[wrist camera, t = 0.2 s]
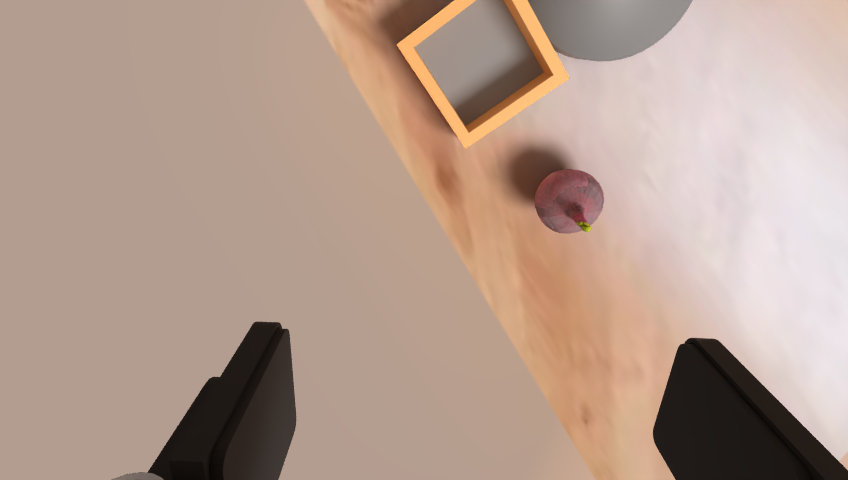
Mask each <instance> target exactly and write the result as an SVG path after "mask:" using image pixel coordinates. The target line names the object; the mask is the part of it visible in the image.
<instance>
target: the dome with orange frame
mask: <svg viewBox="0 0 848 480" xmlns="http://www.w3.org/2000/svg"><path fill="white" fill-rule="evenodd" d="M691 2H692V0H454V1H453V2H451V3H450V4H449V5H447V6H446V7H445V8H444V9H442V10H441V11H440V12H438V13H437V14H436V15H434V16H433V17H432V18H431V19H429V20H428V21H427V22H425V23H424V24H423V25H421V26H420V27H419V28H418V29H416V30H415V31H414V32H412V33H411V34H410V35H408V36H407V37H406V38H405V39H403V40H402V41H401V42H399V43H398V44H397V46H398V48H399V49H400V51H401V52H402V54H403V55H404V57H405V58H406V60H407V61H408V63H409V64H410V66H411V67H412V69H413V70H414V72H415V73H416V75H417V76H418V78H419V79H420V81H421V82H422V84H423V85H424V87H425V88H426V90H427V91H428V93H429V94H430V96H431V97H432V99H433V100H434V102H435V104H436V105H437V107H438V108H439V110H440V111H441V113H442V114H443V116H444V117H445V119H446V120H447V122H448V123H449V125H450V126H451V128H452V129H453V131H454V132H455V134H456V135H457V137H458V138H459V140H460V141H461V143H462V144H463V146H464V147H465V149H466V148H467V147H469V146H470V145H472V144H473V143H475V142H476V141H478V140H479V139H481V138H482V137H483V136H485V135H486V134H488V133H489V132H491V131H492V130H494V129H495V128H497V127H498V126H500V125H501V124H503V123H504V122H506V121H507V120H509V119H510V118H512V117H513V116H515V115H516V114H517V113H519V112H520V111H522V110H523V109H525V108H526V107H528V106H529V105H531V104H532V103H534V102H535V101H537V100H538V99H540V98H541V97H543V96H544V95H546V94H547V93H548V92H550V91H551V90H553V89H554V88H556V87H557V86H559V85H560V84H562V83H563V82H565V81H566V80H568V79H569V76H568V74H567V72H566V70H565V69H564V67H563V65H562V63H561V61H560V59H559V58H558V56H557V54H556V52H555V51H557V52H559V53H561V54H563V55H565V56H568V57H572V58H576V59H584V60H592V61H613V60H619V59H623V58H627V57H630V56H633V55H635V54H637V53H640V52H642V51H644V50H645V49H647V48H649V47H650V46H652V45H654V44H655V43H656V42H658V41H659V40H660V39H662V38H663V37H664V36H665V35H666V34H667V33H668V32H669V31H670V30H671V29H672V28H673V27H674V26H675V25H676V24H677V23H678V21H679V20H680V19H681V18H682V16H683V15H684V13H685V12H686V10H687V9H688V7H689V6H690V4H691Z"/></svg>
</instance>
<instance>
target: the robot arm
mask: <svg viewBox="0 0 848 480" xmlns="http://www.w3.org/2000/svg"><path fill="white" fill-rule="evenodd" d="M295 426H296V408H295V396H294V383H293V371H292V358H291V346H290V335H289V330H288V329H282V326H281V324H280V323H278V322H255V323H254V324H253V325H252V326H251V328H250V330H249V331H248V333H247V335H246V336H245V338H244V339H243V341H242V343H241V344H240V346H239V347H238V349H237V351H236V352H235V354H234V355H233V357H232V359H231V360H230V362H229V364H228V365H227V367H226V368H225V370H224V372H223V373H222V375H221V377H212V378H210V379H209V380H208V381H207V382H206V384H205V385H204V387H203V388H202V390H201V391H200V393H199V394H198V396H197V397H196V399H195V401H194V402H193V403H192V405H191V407H190V408H189V410H188V411H187V413H186V414H185V416H184V417H183V419H182V421H181V422H180V424H179V425H178V427H177V428H176V430H175V431H174V433H173V434H172V436H171V437H170V439H169V440H168V442H167V443H166V445H165V446H164V448H163V450H162V451H161V453H160V454H159V456H158V457H157V459H156V460H155V462H154V463H153V465H152V467H151V468H150V470H149V471H148V473H144V472H139V473H132V474H126V475H123V476H120V477H118V478H115V479H112V480H278V479H279V476H280V473H281V470H282V467H283V464H284V461H285V458H286V455H287V452H288V449H289V446H290V444H291V440H292V437H293V435H294V431H295ZM653 438H654V442H655V444H656V446H657V448H658V450H659V452H660V453H661V455H662V457H663V459H664V460H665V462H666V464H667V466H668V467H669V469H670V471H671V472H672V474H673V476H674V478H675V479H676V480H848V470H847V469H846V468H845V467H844V466H843V465H842V464H841V463H840V462H839V461H838V460H837V459H836V458H835V457H834V456H833V455H832V454H831V453H830V452H829V451H828V450H827V449H826V448H825V447H824V446H823V445H822V444H821V443H820V442H819V441H818V440H817V439H816V438H815V437H814V436H813V435H812V434H811V433H810V432H809V431H808V430H807V429H806V428H805V427H804V426H803V425H802V424H801V423H800V422H799V421H798V420H797V419H796V418H795V417H794V416H793V415H792V414H791V413H790V412H789V411H788V410H787V409H786V408H785V407H784V406H783V405H782V404H781V403H780V402H779V401H778V400H777V399H776V398H775V397H774V396H773V395H772V394H771V393H770V392H769V391H768V390H767V389H766V388H765V387H764V386H763V385H762V384H761V383H760V382H759V381H758V380H757V379H756V378H755V377H754V376H753V375H752V374H751V373H750V372H749V371H748V370H747V369H746V368H745V367H744V366H743V365H742V364H741V363H740V362H739V361H738V360H737V359H736V358H735V357H734V356H733V355H732V354H731V353H730V352H729V351H728V350H727V349H726V348H725V347H724V346H723V345H722V344H721V343H720V342H719V341H718V340H716V339H705V338H689V339H687V341H686V342H685V344H681V345H680V346H679V347H678V349H677V353H676V356H675V359H674V363H673V366H672V369H671V372H670V376H669V379H668V382H667V386H666V389H665V392H664V395H663V399H662V402H661V405H660V409H659V412H658V415H657V418H656V422H655V425H654V429H653Z"/></svg>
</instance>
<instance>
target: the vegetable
mask: <svg viewBox="0 0 848 480" xmlns="http://www.w3.org/2000/svg"><path fill="white" fill-rule="evenodd" d="M603 202H604V197H603V190H602V188H601V186H600V184H599V183H598V182H597V181H596V180H595V178H594V177H593V176H591V175H589V174H588V173H585V172H583V171H579V170H572V169H566V170H559V171H555V172H553V173H551V174H550V175H548V176H547V177H546V178H545V179H544V180H543V181H542V182H541V184H540V185H539V187H538V189H537V192H536V194H535V208H536V211H537V214H538V216H539V218H540V219H541V221H542V222H543V223H544V224H545V225H546V226H547V227H548V228H550V229H551V230H553V231H555V232H558V233H575V232H579V231H581V230H583V231H585V232H589V231H590V230H591V227H590V225H591V224H592V223H593V222H594V221H595V220H596V219H597V218H598V216H599V215H600V213H601V211H602V208H603Z"/></svg>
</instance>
